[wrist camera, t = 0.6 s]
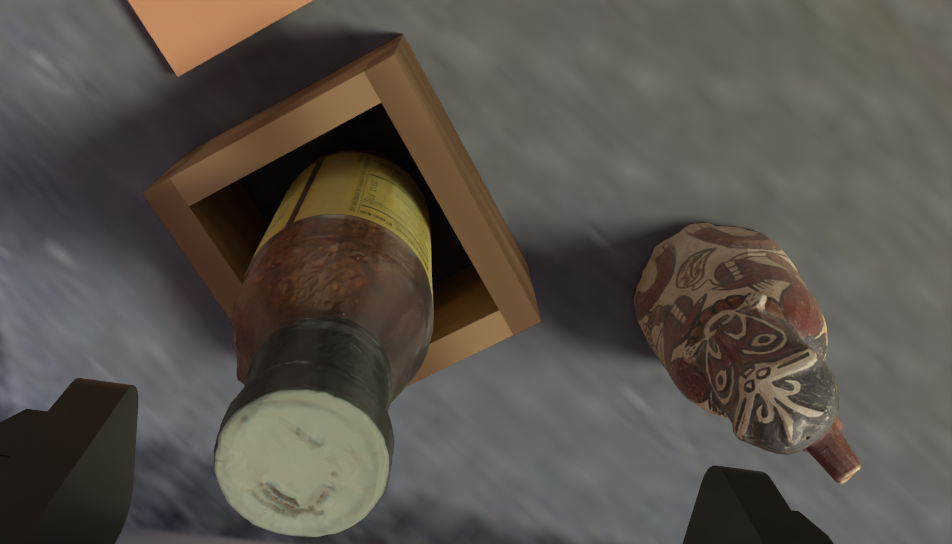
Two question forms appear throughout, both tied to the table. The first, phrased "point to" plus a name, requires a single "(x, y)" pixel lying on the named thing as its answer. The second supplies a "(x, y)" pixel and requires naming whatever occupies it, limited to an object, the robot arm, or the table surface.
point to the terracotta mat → (206, 25)
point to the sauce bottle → (327, 346)
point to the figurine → (745, 340)
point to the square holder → (434, 151)
